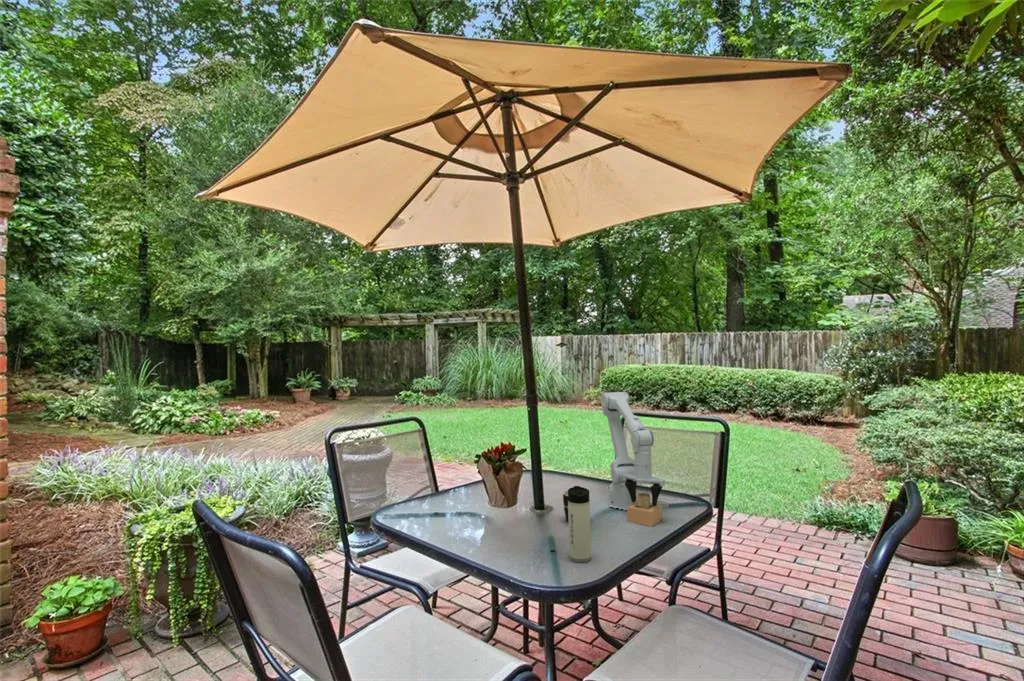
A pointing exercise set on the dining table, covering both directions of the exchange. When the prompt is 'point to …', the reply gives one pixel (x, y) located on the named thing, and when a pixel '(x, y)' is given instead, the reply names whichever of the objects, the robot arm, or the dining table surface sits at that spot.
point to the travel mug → (579, 524)
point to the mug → (566, 504)
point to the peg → (644, 500)
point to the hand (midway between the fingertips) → (644, 503)
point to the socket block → (644, 514)
